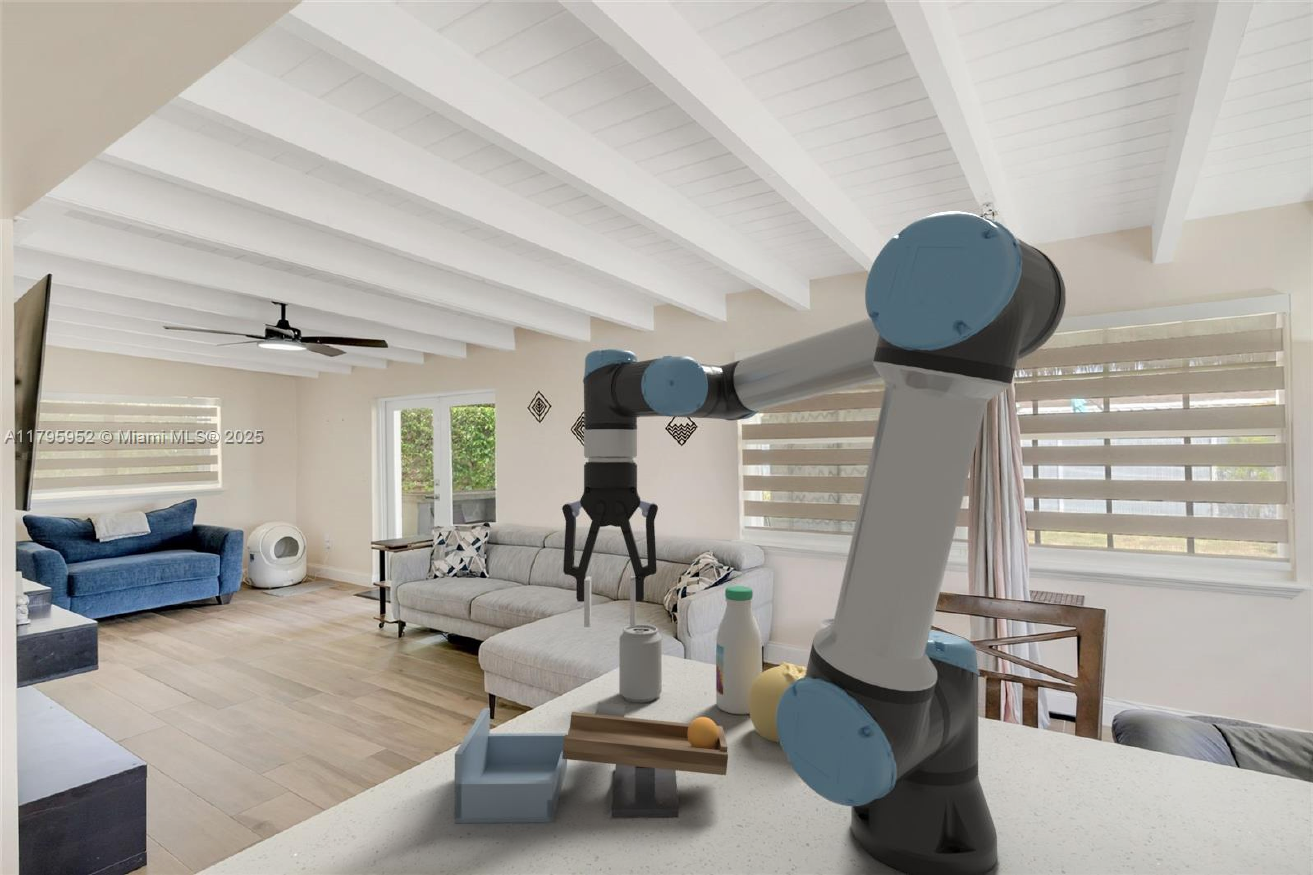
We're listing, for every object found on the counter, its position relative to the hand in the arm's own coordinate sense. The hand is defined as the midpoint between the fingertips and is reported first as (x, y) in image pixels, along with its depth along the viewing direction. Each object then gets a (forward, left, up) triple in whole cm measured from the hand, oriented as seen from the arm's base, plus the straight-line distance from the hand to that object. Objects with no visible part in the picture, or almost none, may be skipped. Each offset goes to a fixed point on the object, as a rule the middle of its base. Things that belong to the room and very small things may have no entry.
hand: (610, 624), depth 93 cm
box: (+3, +14, -19) cm, 24 cm away
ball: (-15, -1, -12) cm, 19 cm away
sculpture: (-16, -22, -19) cm, 34 cm away
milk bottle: (-4, -27, -19) cm, 34 cm away
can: (+12, -20, -19) cm, 30 cm away
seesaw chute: (-7, +1, -14) cm, 16 cm away
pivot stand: (-10, +4, -19) cm, 21 cm away
